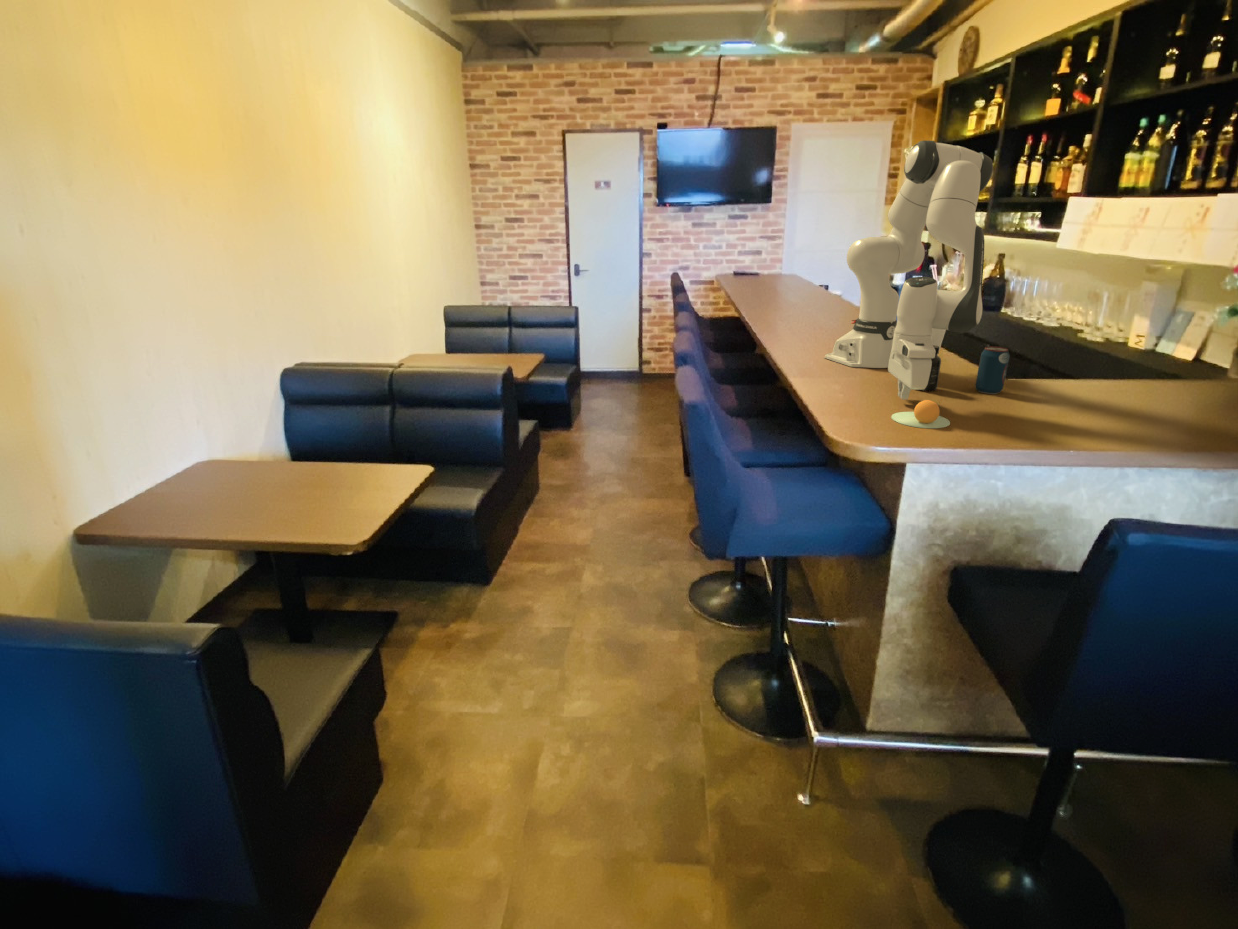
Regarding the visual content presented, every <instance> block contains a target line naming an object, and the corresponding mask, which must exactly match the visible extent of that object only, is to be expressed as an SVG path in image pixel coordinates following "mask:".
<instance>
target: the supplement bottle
mask: <svg viewBox="0 0 1238 929" xmlns="http://www.w3.org/2000/svg"><path fill="white" fill-rule="evenodd" d="M933 347H934V348H935V351H936V353H935V358H930V359H931V361H932V366H931V372H930V376H929V381H928V384H927V386H926V388H925V389H924V390H917V391H920V392H934V391H936V390H937V389H938V386H939V385H938V384H939V378H940V372H941V366H942V358H941V357H940V356H939V353H940V350H939V346H935V345H933ZM937 354H938V355H937Z"/></svg>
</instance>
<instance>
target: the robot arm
mask: <svg viewBox="0 0 1238 929" xmlns="http://www.w3.org/2000/svg"><path fill="white" fill-rule="evenodd" d="M993 163H994V162H993V159H992V158H991V157H989V155H987V154H984V153H982V152H977V151H975V150H973V149H969V148H967V147H965V146H960V145H953V144H948V143H943V142H936V141H934V140H920V141H918V142H917V143H915V145H913V147H912V148H911V149H910V151H909V153H908V154H907V156H906V159H905V163H904V167H903V169H904V170H903V172H904V175H905V177H906V179H905V180H904V182H903V184H902V185H901V187H900V189H899V191H898V193H897V194H896V197H895V199H894V200H893V203H892V204H891V206H890V208H889V210H888V212H887V217H888V218H887V219H888V222H889V223H890V225H891V226H892V229H891V230H890V233H889V234H888V235H887V236H869V237H865V238H861V239H858V240H856V241H855V240H854V241H853V242H852V244H851V245H850V246H849V247H848V250H847V254H846V263H847V266H848V268H849V269H850V271H851V272H853V273H854V275H855V276H856V279H857V280H858V284H859V289H860V303H859V304H860V306H859V315H858V317H857V319H852V320H851V323H850V324H851V325H853V327H852V329H851V330H849V331H848V332H847V333H845V334H844V335H842V336H841V337H839V338H837V340H835V342H834V346H833V349H832V352H830V353H829V352H828V353H827V354H824V359H827V360H830V361H833V362H836V363H838V364H842V365H844V366H848V367H850V368H868V369H869V368H870V369H886V368H887V371H888V373H889V374H890V375H892V376H894V377H895V378H896V379H897V390H898V393H897V396H898V397H899V398H900V399H901V400H904V401H905V400H908V399H909V396H910V393H911V391H912V390H914V391H915V390H916V391H918V390H924V389H925V388H926V386H927V384H928V381H929V376H930V372H931V366H932V361H931V359H930V358H935V353H936V351H935V348H934V347H933V344H932V340H931V338H932V328H934V329H944V330H946V331H950V332H953V333H959V334H965V333H967V332H969V331H971V330H973V329H975V328H976V327H977V326H979V323H980V321H981V319H982V316H983V300H982V298H983V297H982V295H983V294H982V293H983V279H984V277H983V276H984V262H985V233H984V230H983V228H982V227H981V226H979V225H978V224H977V222H976V221H977V220H976V210H977V206H978V202H979V197H980V196H979V195H980V192H982V191H983V190H984V189H985V188H986V187H987V185H988V184H989V182H990V180H991V178H992V174H993V172H994V164H993ZM925 226H926V230H927V231H928V232H929V234H930V235H931V237H932V238H934V239H935V240H937V242H939V243H941V244H943V245H945V246H947V247H950V248H953V249H955V250H956V251H959V252H960V253H961V254H962V255H963V256H964V270H963V283H962V284H963V285H962V288H961V289H960V290H949V289H948V290H947V289H946V290H945V289H938V280H937V279H934V278H933V277H929V276H917V277H916V276H915V277H914V276H913V277H909V278H908V279H906V280H905V281H904V283H903V285H902V288H901V291H900V295H899V294H898V292H897V290H896V289H895V288H893V287H892V285H891V283H890V275H895V274H899V275H900V274H905V273H909V272H912V271H915V270H916V269H918V268H920V266H921V265H922V264H923V262H924V259H925V255H926V253H925V252H926V250H925V246H924V243H922V235H923V231H924V229H925Z"/></svg>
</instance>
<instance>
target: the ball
mask: <svg viewBox="0 0 1238 929" xmlns="http://www.w3.org/2000/svg"><path fill="white" fill-rule="evenodd" d="M913 412H914V415H915V418H916V419H917V420H918V421H919V422H921V423H932V422H934V421H935V420H936V419H937V418H938V416H940V406H939V405H938V404H937V403H936V402H935V401H933V400H929V399H924V400H922V401H919V402H918V403H917V404H916V405H915V407H914V410H913Z"/></svg>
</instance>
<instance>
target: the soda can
mask: <svg viewBox="0 0 1238 929" xmlns="http://www.w3.org/2000/svg"><path fill="white" fill-rule="evenodd" d="M1010 356H1011V355H1010V352H1009V348H1006V347H1002V346H992V345H991V346H985V347H984V349H983V350H982V352H981V354H980V358H979V364H978V368H977V374H976V378H975V383H974V384H975V385H974V386H975V390H976V391H977V392H978V393H982V394H986V395H987V394H988V395H998V393H1001V392H1002V391H1003V389H1004V386H1005V382H1006V376H1007V372H1008V367H1009V362H1010Z"/></svg>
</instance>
